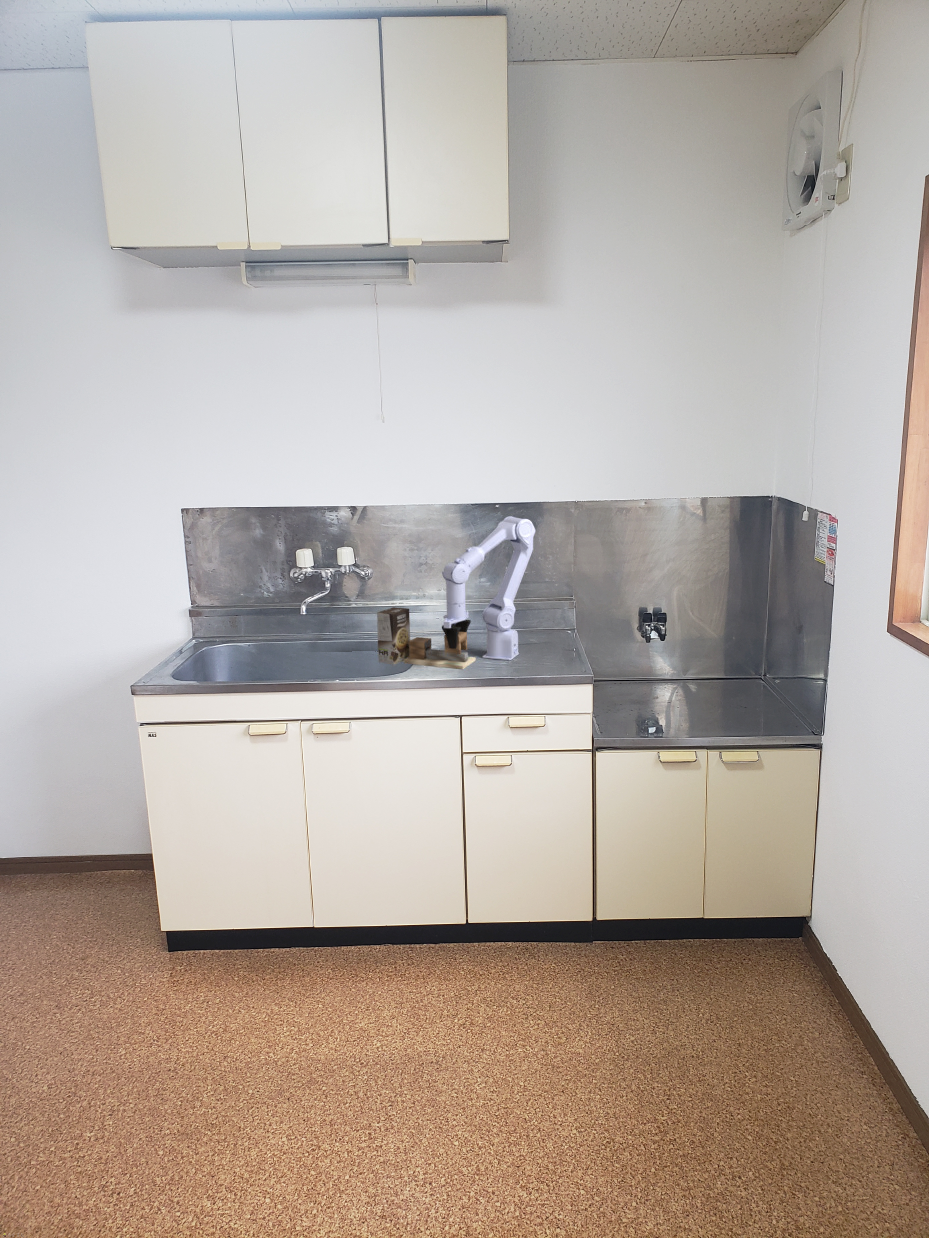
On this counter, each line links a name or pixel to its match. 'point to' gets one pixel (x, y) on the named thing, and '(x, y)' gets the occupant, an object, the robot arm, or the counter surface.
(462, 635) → the forked wooden block
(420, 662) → the rail board
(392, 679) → the counter surface
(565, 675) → the counter surface
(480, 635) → the counter surface
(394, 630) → the coffee box
